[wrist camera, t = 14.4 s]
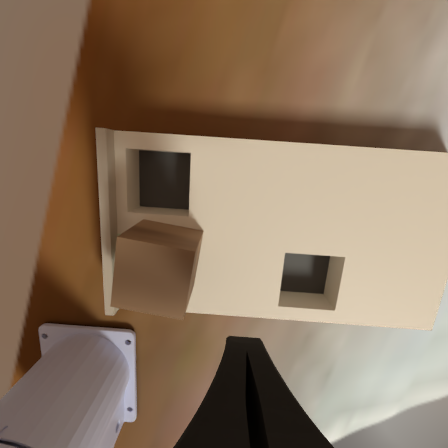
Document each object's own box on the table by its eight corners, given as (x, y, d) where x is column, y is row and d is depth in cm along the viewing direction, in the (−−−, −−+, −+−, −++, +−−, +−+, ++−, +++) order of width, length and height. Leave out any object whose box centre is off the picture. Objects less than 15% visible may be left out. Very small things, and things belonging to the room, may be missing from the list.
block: (193, 285, 18) (183, 320, 14) (137, 274, 18) (110, 306, 14) (203, 230, 17) (195, 251, 13) (143, 219, 17) (116, 236, 13)
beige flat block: (407, 310, 20) (443, 340, 17) (125, 289, 21) (105, 314, 17) (449, 156, 18) (502, 154, 14) (121, 134, 18) (95, 127, 14)
